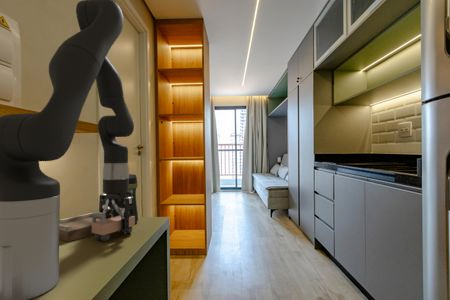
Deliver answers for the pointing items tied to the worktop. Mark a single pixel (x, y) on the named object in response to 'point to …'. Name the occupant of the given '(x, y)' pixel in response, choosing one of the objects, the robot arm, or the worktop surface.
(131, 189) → the coffee jar
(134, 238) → the worktop surface
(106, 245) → the worktop surface
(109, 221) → the tan board with wheels
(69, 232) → the dock
